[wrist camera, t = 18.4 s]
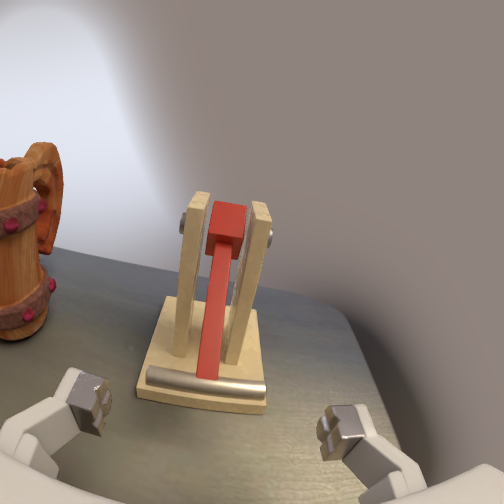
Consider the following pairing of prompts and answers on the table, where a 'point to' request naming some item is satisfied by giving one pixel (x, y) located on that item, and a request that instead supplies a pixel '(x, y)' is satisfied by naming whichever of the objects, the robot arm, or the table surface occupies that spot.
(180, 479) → the table surface
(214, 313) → the lever
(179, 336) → the wooden lever stand
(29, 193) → the mug
